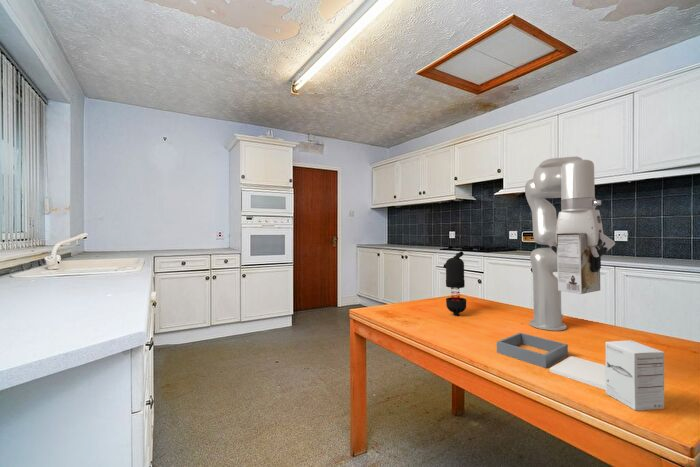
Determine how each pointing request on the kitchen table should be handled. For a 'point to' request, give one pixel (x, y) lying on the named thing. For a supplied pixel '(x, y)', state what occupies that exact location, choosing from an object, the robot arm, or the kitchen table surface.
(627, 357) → the supplement box
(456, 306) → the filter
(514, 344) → the packet holder
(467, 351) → the kitchen table surface
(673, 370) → the kitchen table surface
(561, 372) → the mat
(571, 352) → the kitchen table surface
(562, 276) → the coffee box
